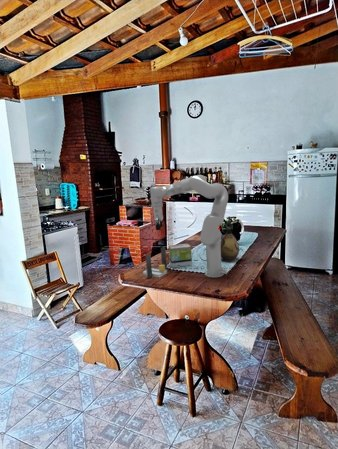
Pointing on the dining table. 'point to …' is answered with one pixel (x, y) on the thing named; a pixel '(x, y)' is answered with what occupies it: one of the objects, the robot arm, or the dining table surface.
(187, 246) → the tea box
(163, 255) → the post right
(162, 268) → the toggle amber
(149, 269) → the post left
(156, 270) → the panel
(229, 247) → the ceramic jug
